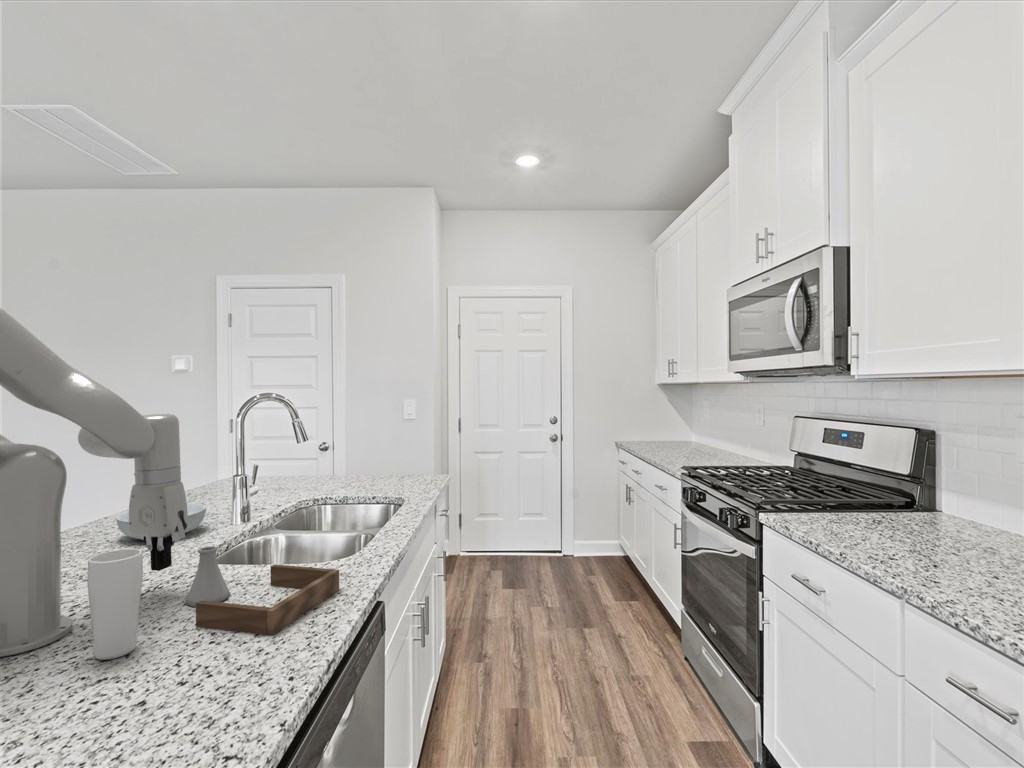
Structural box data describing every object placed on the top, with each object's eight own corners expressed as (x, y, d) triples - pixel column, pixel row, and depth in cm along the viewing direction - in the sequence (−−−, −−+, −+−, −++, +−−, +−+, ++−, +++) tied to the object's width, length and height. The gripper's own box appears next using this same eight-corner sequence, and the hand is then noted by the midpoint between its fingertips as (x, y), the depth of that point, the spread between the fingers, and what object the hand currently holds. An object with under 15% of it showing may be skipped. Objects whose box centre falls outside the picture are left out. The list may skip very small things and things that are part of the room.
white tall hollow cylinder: (135, 637, 85) (135, 545, 85) (148, 650, 80) (148, 554, 81) (82, 654, 79) (82, 556, 80) (93, 669, 75) (94, 565, 75)
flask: (209, 609, 96) (209, 555, 96) (176, 606, 97) (176, 553, 97) (237, 594, 103) (237, 543, 103) (206, 591, 104) (206, 541, 104)
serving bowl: (95, 544, 137) (95, 518, 137) (165, 524, 157) (166, 501, 157) (159, 549, 132) (159, 522, 132) (223, 528, 152) (223, 504, 153)
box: (272, 635, 85) (272, 611, 85) (195, 626, 89) (195, 603, 89) (339, 589, 105) (339, 569, 105) (274, 583, 108) (274, 564, 108)
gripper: (109, 479, 101) (113, 572, 101) (173, 481, 98) (176, 578, 98) (145, 472, 108) (148, 559, 109) (205, 473, 105) (208, 563, 105)
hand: (161, 568), depth 103 cm, fingers closed
